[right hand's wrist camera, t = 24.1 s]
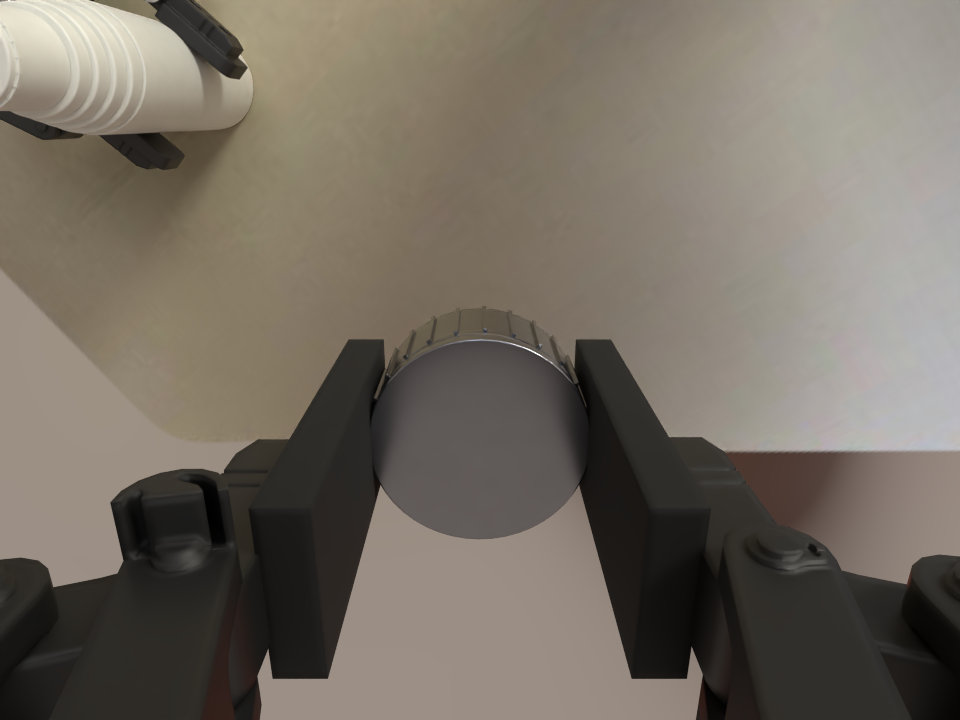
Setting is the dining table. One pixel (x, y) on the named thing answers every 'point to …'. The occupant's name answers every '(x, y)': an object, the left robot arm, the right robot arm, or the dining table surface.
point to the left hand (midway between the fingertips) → (204, 117)
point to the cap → (479, 425)
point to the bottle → (109, 72)
